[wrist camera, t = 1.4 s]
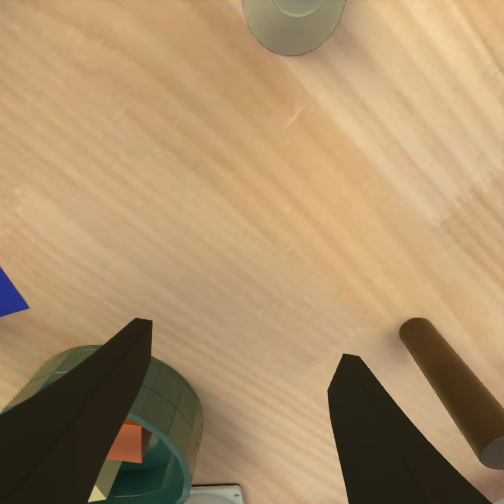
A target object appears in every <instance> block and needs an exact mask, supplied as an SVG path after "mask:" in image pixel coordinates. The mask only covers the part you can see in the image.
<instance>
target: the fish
mask: <svg viewBox="0 0 504 504" xmlns="http://www.w3.org/2000/svg"><path fill="white" fill-rule="evenodd" d="M28 308H29V307H28V306H27V304H26V303H25V301H24V300H23V299H22V297H21V296H20V294H19V293H18V292H17V290H16V289H15V288H14V286H13V285H12V283H11V282H10V281H9V279H8V278H7V276H6V275H5V274H4V272H3V271H2V269H1V268H0V317H1V316H5V315H8V314H11V313H15V312H18V311H21V310H25V309H28Z"/></svg>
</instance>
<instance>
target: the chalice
mask: <svg viewBox="0 0 504 504" xmlns="http://www.w3.org/2000/svg"><path fill="white" fill-rule="evenodd" d="M345 1H346V0H243V9H244V12H245V16H246V19H247V22H248V25H249V28H250V29H251V31H252V32H253V34H254V35H255V37H256V38H257V40H258V41H259V42H260V43H262V44H263V45H264V46H265V47H267V48H268V49H269V50H271V51H273V52H276V53H279V54H282V55H285V56H289V55H302V54H304V53H306V52H309V51H311V50H313V49H316V48H317V47H318V46H319V45H320V44H321V43H323V42H324V41H325V40H326V39H327V38H328V37H329V36H330V35H331V33H332V31H333V30H334V28H335V27H336V25H337V24H338V22H339V20H340V17H341V14H342V11H343V8H344V5H345Z"/></svg>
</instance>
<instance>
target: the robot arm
mask: <svg viewBox="0 0 504 504" xmlns="http://www.w3.org/2000/svg"><path fill="white" fill-rule="evenodd" d="M152 323H153V321H152V320H146V319H140V318H135V319H133V320H132V321H131V322H130V323H129V324H128V325H126V326H125V327H124V328H123V329H122V330H121V331H119V332H118V333H117V334H116V335H115V336H114V337H112V338H111V339H110V340H109V341H108V342H106V343H105V344H104V345H103V346H101V347H100V348H99V349H98V350H96V351H95V352H94V353H93V354H91V355H90V356H89V357H88V358H86V359H85V360H84V361H82V362H81V363H79V364H78V365H77V366H75V367H74V368H73V369H71V370H70V371H68V372H67V373H66V374H64V375H63V376H62V377H60V378H59V379H57V380H56V381H54V382H53V383H51V384H50V385H48V386H47V387H45V388H44V389H42V390H41V391H39V392H37V393H36V394H34V395H33V396H31V397H30V398H28V399H26V400H25V401H23V402H21V403H20V404H18V405H16V406H14V407H13V408H11V409H9V410H8V411H6V412H4V413H2V414H1V415H0V504H87V503H88V501H89V498H90V496H91V493H92V491H93V488H94V486H95V483H96V481H97V478H98V476H99V473H100V471H101V468H102V466H103V464H104V462H105V459H106V457H107V455H108V453H109V451H110V449H111V447H112V445H113V443H114V441H115V439H116V437H117V435H118V433H119V431H120V429H121V427H122V425H123V423H124V421H125V419H126V417H127V415H128V413H129V411H130V409H131V407H132V405H133V403H134V401H135V399H136V397H137V395H138V393H139V391H140V389H141V386H142V384H143V381H144V378H145V376H146V373H147V370H148V368H149V365H150V362H151V345H152ZM327 391H328V402H329V412H330V420H331V424H332V429H333V433H334V438H335V443H336V447H337V451H338V456H339V460H340V464H341V469H342V473H343V478H344V482H345V486H346V492H347V497H348V502H349V504H492V503H491V502H490V501H489V500H488V499H487V498H486V497H485V496H483V495H482V494H481V493H480V492H479V491H478V490H477V489H476V488H475V487H474V486H473V485H472V484H470V483H469V482H468V481H467V480H466V479H465V478H464V477H463V476H462V475H461V474H460V473H459V472H458V471H457V470H456V469H455V468H454V467H453V466H452V465H451V464H450V463H449V462H448V461H447V460H446V459H445V458H444V457H443V456H442V455H441V454H440V453H439V452H438V451H437V450H436V449H435V447H434V446H433V445H432V444H431V443H430V442H429V441H428V440H427V439H426V438H425V437H424V435H423V434H422V433H421V432H420V431H419V430H418V429H417V427H416V426H415V425H414V424H413V423H412V422H411V421H410V419H409V418H408V417H407V416H406V415H405V414H404V412H403V411H402V410H401V409H400V407H399V406H398V405H397V404H396V403H395V401H394V400H393V399H392V398H391V396H390V395H389V394H388V392H387V391H386V390H385V389H384V387H383V386H382V385H381V384H380V382H379V381H378V380H377V378H376V377H375V376H374V374H373V373H372V372H371V371H370V369H369V368H368V367H367V365H366V364H365V363H364V362H363V360H362V359H361V358H360V357H359V356H355V355H350V354H344V353H343V355H342V358H341V360H340V362H339V365H338V367H337V369H336V372H335V374H334V376H333V379H332V381H331V383H330V386H329V388H328V390H327ZM185 504H244V499H243V495H242V490H241V487H240V486H238V485H228V486H203V487H191V491H190V496H189V499H188V500H187V501H186V502H185Z"/></svg>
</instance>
